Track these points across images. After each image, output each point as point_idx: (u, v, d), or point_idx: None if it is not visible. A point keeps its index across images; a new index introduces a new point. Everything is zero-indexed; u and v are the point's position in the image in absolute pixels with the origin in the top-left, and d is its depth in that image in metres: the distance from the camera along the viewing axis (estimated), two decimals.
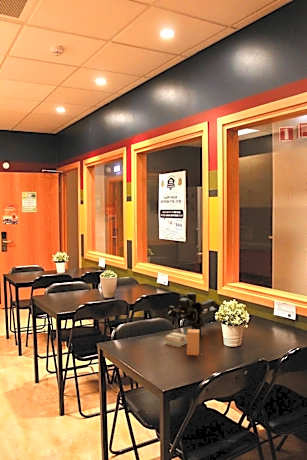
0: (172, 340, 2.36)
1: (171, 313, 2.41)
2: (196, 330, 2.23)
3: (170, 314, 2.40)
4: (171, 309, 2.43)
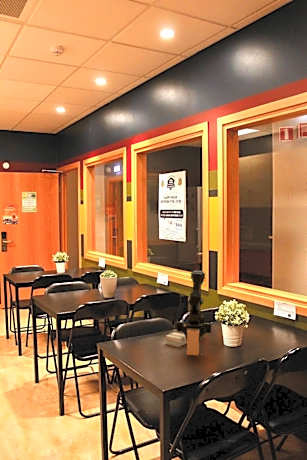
0: (172, 340, 2.36)
1: None
2: (196, 330, 2.23)
3: None
4: (185, 329, 2.24)
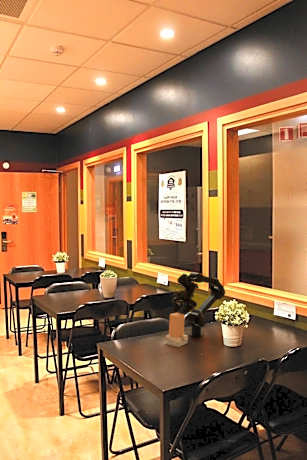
0: (172, 340, 2.36)
1: (176, 308, 2.50)
2: (180, 314, 2.38)
3: (176, 310, 2.49)
4: (174, 304, 2.51)
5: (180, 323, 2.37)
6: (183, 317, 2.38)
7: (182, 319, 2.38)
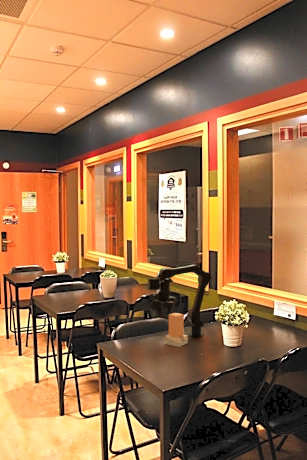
0: (172, 340, 2.36)
1: (168, 307, 2.54)
2: (179, 314, 2.38)
3: (168, 309, 2.54)
4: None
5: (180, 323, 2.37)
6: (182, 317, 2.38)
7: (181, 319, 2.38)
